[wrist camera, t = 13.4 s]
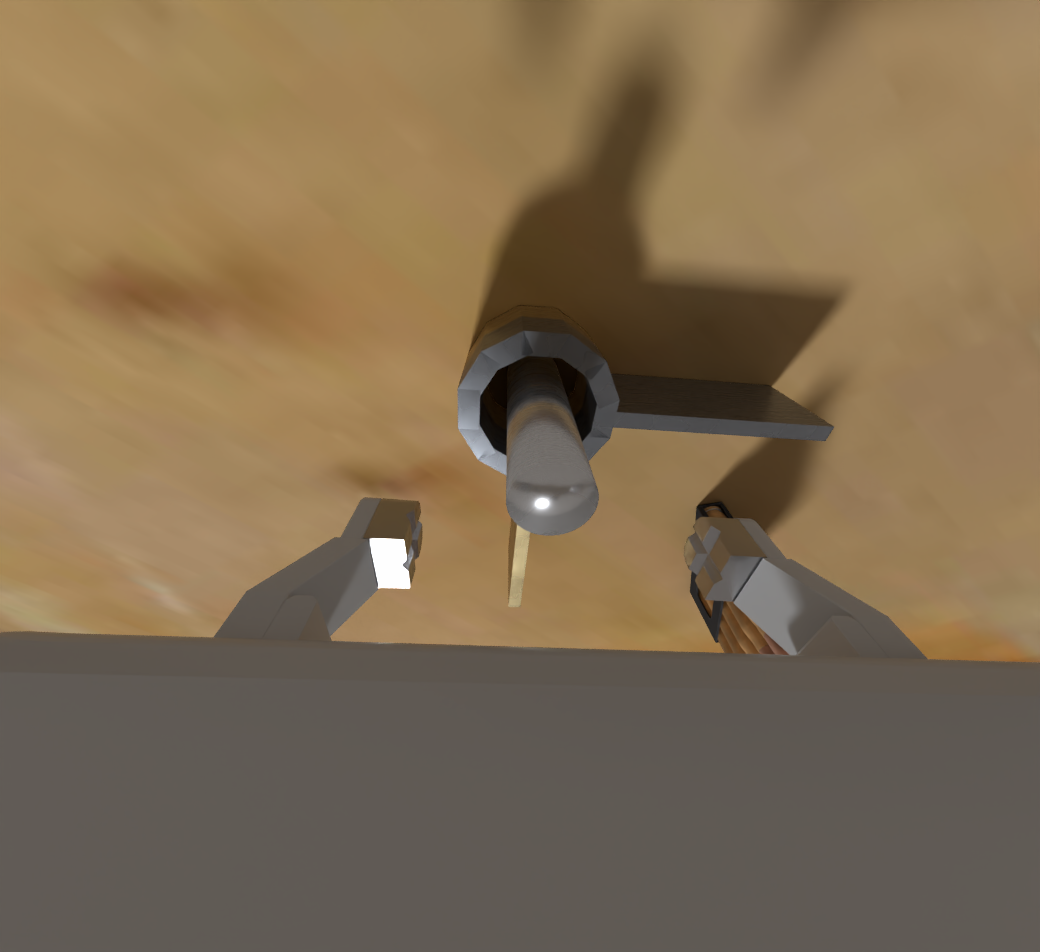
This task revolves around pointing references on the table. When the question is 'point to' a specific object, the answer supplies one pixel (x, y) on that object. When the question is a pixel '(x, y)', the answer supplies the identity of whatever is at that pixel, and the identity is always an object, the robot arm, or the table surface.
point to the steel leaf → (621, 396)
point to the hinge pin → (545, 452)
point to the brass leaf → (499, 415)
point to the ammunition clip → (730, 611)
